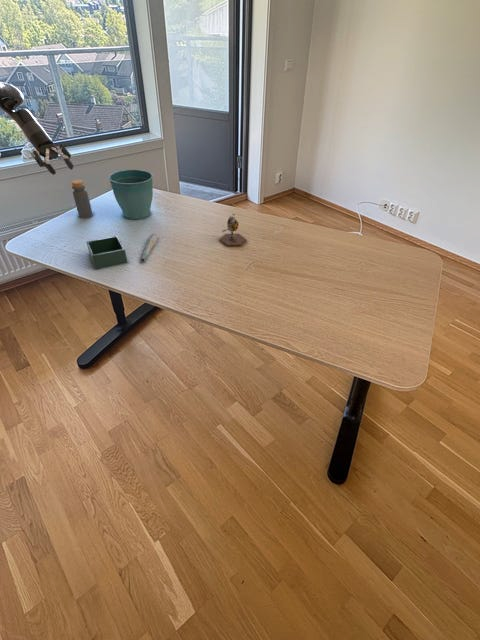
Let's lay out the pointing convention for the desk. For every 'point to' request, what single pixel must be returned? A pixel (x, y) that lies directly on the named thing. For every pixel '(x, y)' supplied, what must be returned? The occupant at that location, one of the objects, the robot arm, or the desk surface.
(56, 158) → the robot arm
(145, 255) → the pen
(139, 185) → the flower pot
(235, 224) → the brown figurine on base
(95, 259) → the green open box
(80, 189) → the bottle
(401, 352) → the desk surface
